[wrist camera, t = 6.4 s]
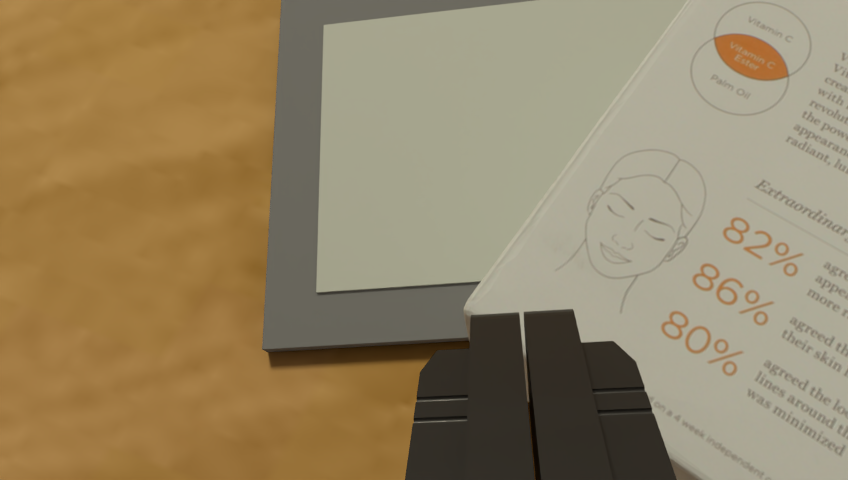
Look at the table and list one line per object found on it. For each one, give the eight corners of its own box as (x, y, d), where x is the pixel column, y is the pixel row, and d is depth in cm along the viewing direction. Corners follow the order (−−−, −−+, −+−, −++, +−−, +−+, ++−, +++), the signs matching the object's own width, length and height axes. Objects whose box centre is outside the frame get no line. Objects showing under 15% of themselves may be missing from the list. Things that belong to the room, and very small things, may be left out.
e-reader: (267, 351, 19) (261, 348, 19) (285, 2, 23) (281, -7, 23) (880, 317, 17) (888, 312, 17) (779, -58, 21) (784, -69, 21)
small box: (752, 570, 15) (960, 213, 18) (887, 617, 10) (1160, 98, 12) (464, 357, 18) (680, 63, 20) (450, 305, 12) (748, -89, 14)
